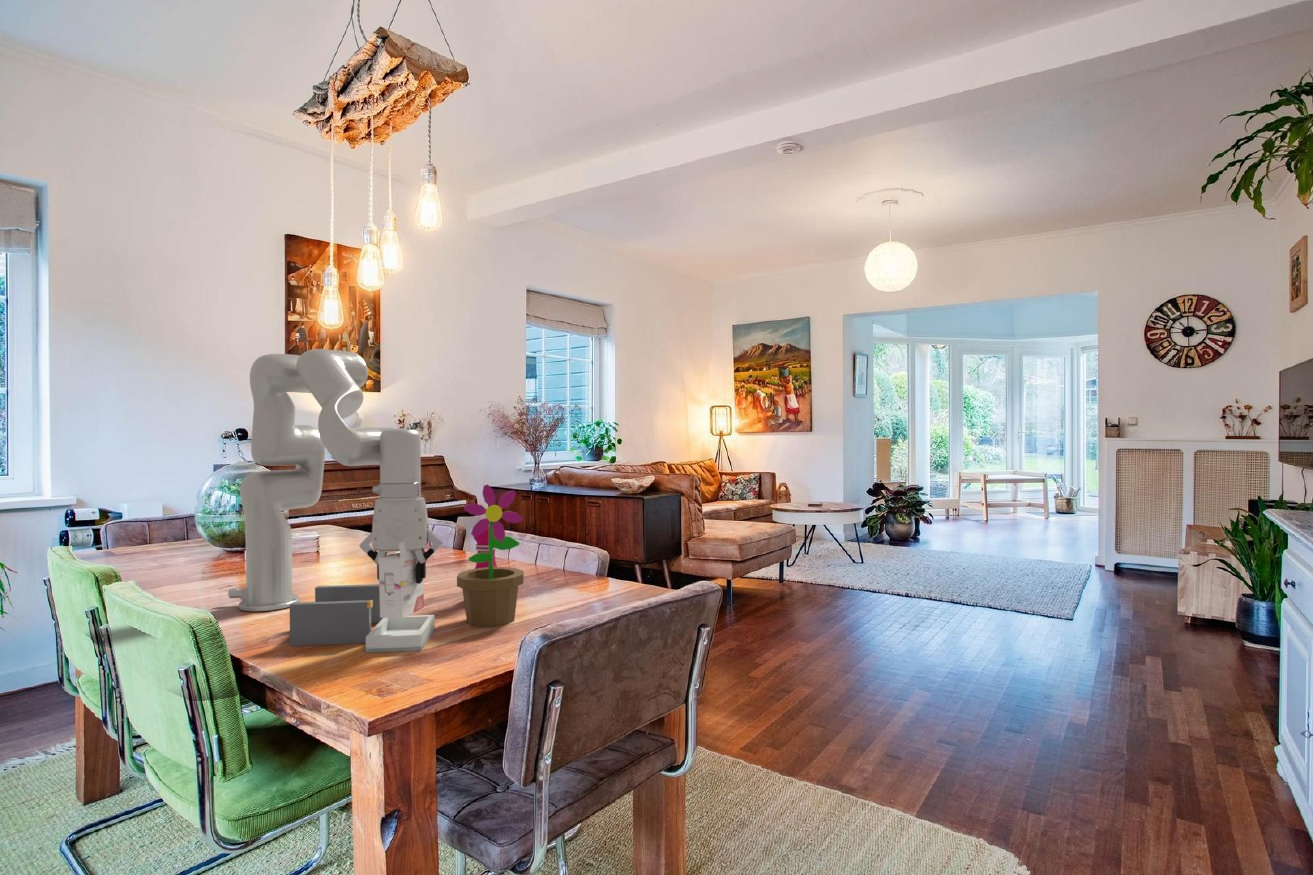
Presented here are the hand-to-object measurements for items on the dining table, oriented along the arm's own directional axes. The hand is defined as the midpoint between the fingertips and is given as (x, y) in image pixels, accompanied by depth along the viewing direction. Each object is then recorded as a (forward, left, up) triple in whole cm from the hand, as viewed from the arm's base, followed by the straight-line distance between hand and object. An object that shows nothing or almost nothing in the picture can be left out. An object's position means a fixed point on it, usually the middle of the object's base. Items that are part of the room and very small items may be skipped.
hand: (401, 581), depth 138 cm
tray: (0, 0, -12) cm, 12 cm away
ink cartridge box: (0, 0, -6) cm, 6 cm away
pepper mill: (+13, +31, -12) cm, 36 cm away
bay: (-13, +7, -12) cm, 19 cm away
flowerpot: (+16, +12, -12) cm, 23 cm away
